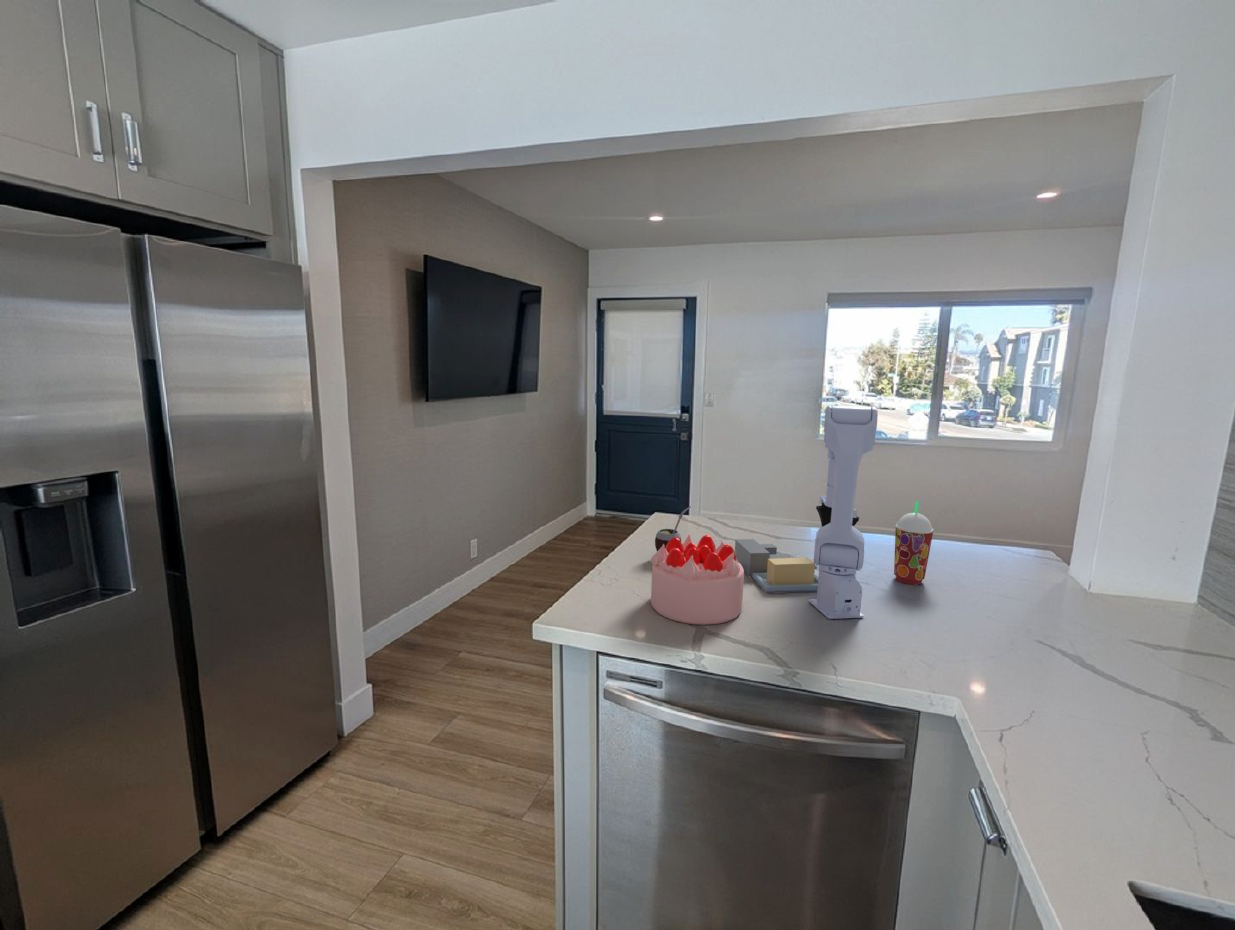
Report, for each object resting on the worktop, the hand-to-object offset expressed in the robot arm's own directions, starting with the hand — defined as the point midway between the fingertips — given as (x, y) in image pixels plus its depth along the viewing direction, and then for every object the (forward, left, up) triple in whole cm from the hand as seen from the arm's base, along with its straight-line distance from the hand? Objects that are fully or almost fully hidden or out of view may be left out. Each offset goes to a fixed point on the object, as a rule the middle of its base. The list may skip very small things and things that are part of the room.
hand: (834, 538), depth 146 cm
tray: (-6, +14, -9) cm, 18 cm away
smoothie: (-6, -17, -10) cm, 20 cm away
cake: (-16, +40, -10) cm, 44 cm away
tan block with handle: (-6, +14, -9) cm, 18 cm away
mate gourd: (+14, +39, -10) cm, 42 cm away
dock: (+6, +16, -9) cm, 20 cm away
